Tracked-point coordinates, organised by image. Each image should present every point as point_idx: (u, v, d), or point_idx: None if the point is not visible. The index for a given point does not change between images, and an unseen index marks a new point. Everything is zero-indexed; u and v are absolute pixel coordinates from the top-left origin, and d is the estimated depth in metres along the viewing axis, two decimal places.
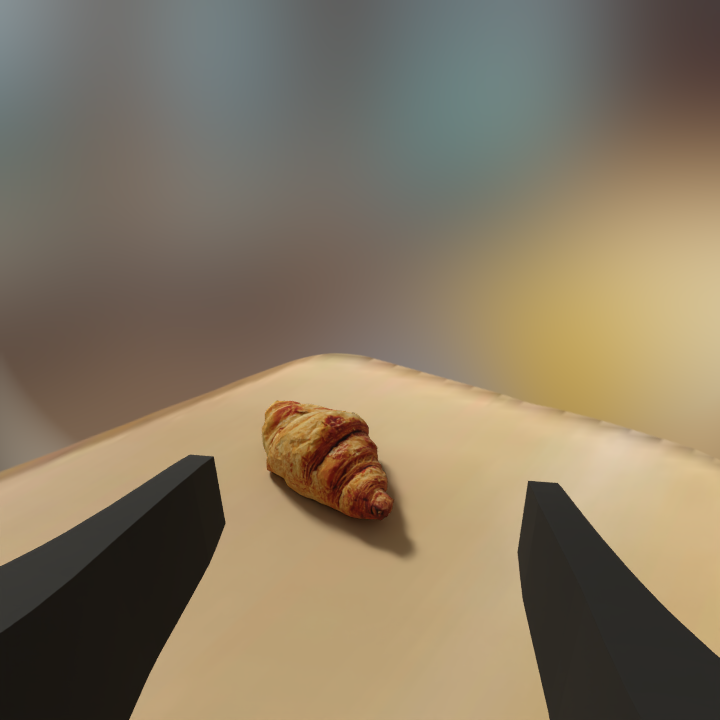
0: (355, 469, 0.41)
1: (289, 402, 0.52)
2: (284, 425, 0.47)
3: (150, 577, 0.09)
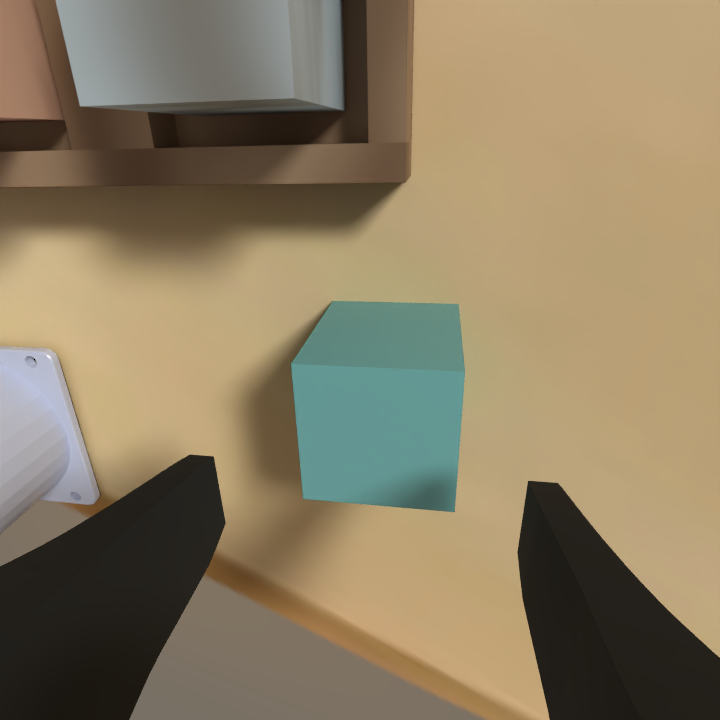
0: None
1: None
2: None
3: (150, 577, 0.09)
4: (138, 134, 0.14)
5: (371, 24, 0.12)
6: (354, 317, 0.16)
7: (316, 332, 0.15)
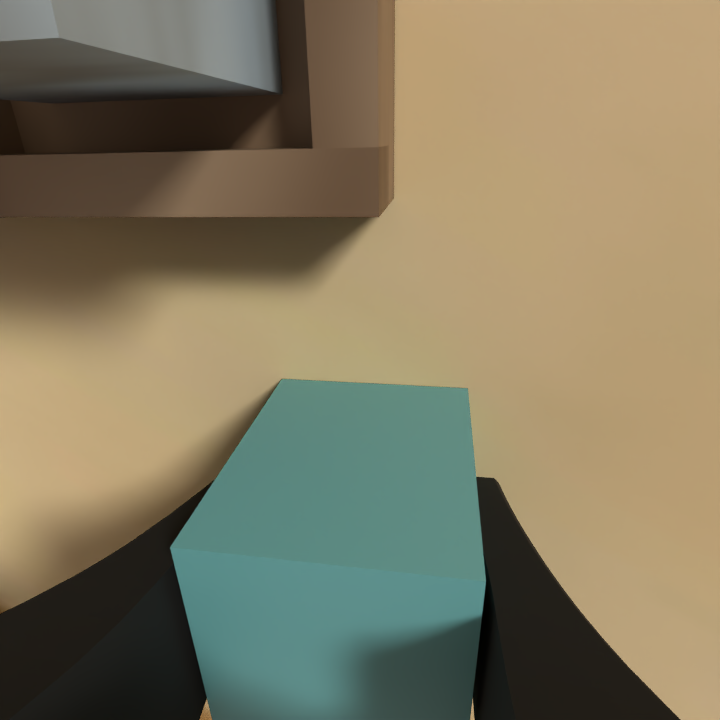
0: None
1: None
2: None
3: None
4: None
5: None
6: (306, 417, 0.10)
7: (238, 455, 0.09)
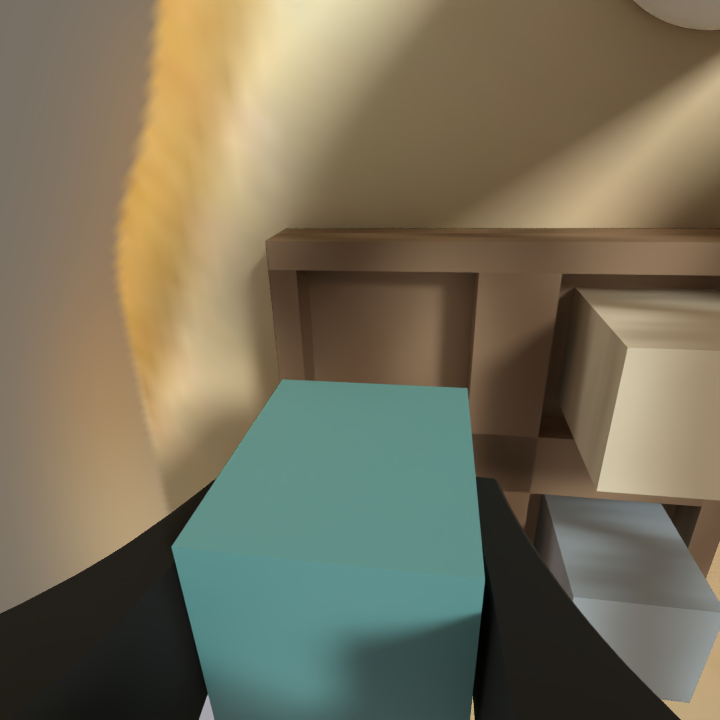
0: None
1: None
2: None
3: None
4: None
5: None
6: (307, 417, 0.10)
7: (239, 455, 0.09)
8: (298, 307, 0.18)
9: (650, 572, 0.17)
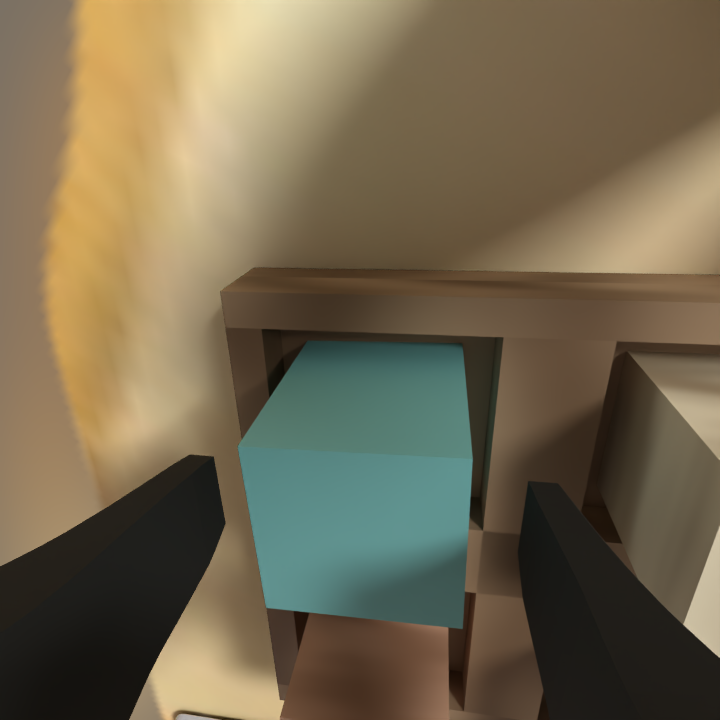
0: None
1: None
2: None
3: (150, 577, 0.09)
4: (526, 714, 0.18)
5: None
6: (331, 365, 0.13)
7: (279, 391, 0.12)
8: (266, 374, 0.13)
9: None
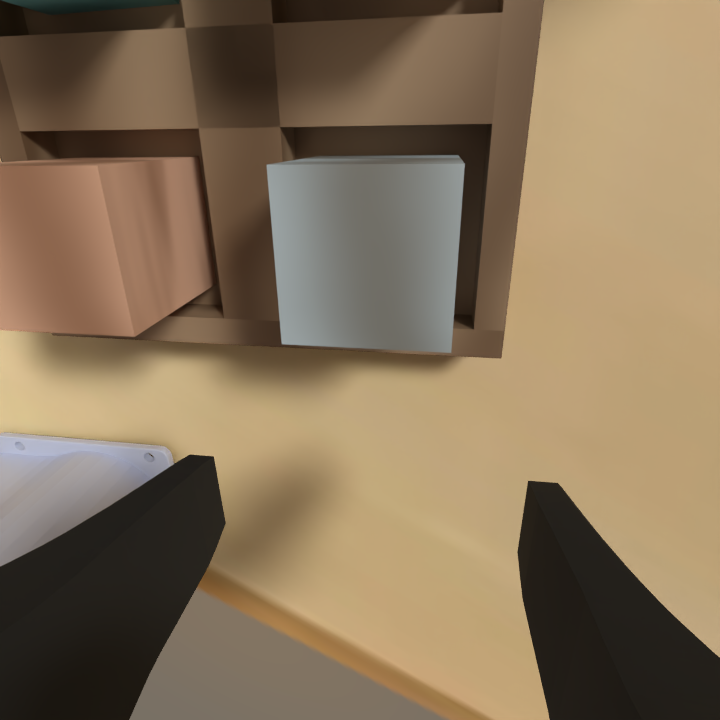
0: None
1: None
2: None
3: (150, 577, 0.09)
4: None
5: (484, 249, 0.15)
6: None
7: None
8: None
9: (392, 161, 0.12)
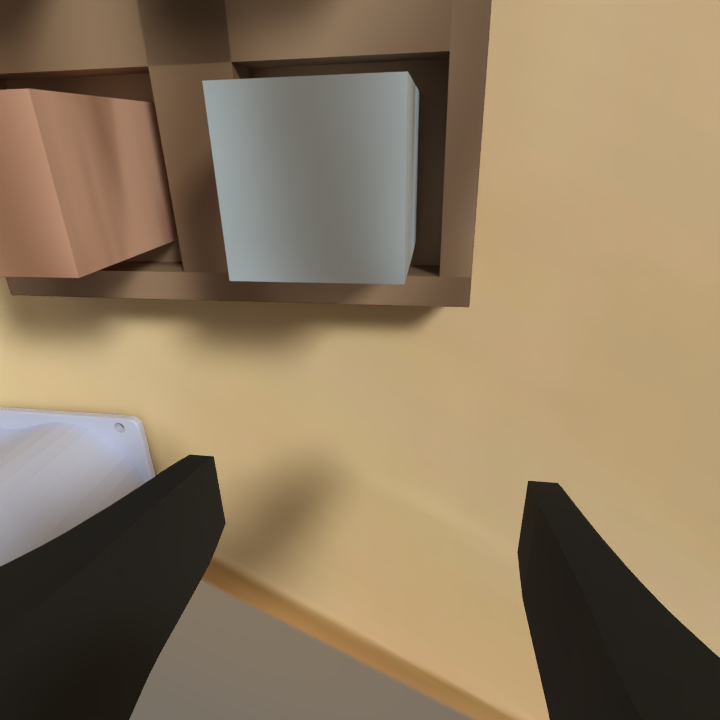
0: None
1: None
2: None
3: (150, 577, 0.09)
4: None
5: (447, 189, 0.15)
6: None
7: None
8: None
9: None
